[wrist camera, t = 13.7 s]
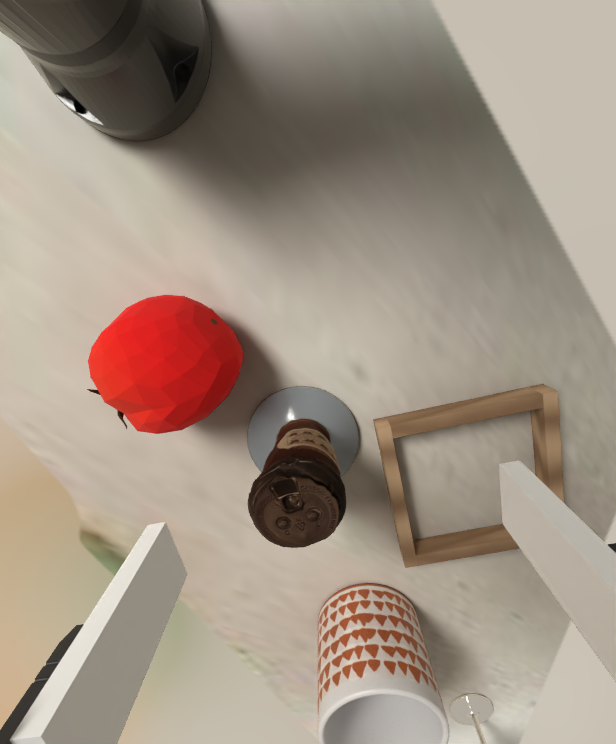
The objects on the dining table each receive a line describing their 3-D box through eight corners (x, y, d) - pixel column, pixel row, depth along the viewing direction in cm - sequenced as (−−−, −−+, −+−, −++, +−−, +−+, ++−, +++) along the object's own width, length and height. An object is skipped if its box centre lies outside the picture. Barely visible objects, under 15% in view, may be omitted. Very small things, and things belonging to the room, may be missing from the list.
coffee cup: (281, 395, 39) (264, 452, 26) (350, 419, 39) (365, 486, 27) (258, 460, 41) (232, 541, 29) (324, 482, 42) (326, 571, 29)
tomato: (235, 303, 40) (147, 361, 42) (153, 241, 28) (40, 326, 31) (277, 398, 36) (177, 457, 38) (201, 372, 24) (64, 458, 26)
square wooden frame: (373, 419, 40) (376, 428, 38) (542, 384, 38) (557, 391, 36) (400, 552, 45) (405, 567, 42) (552, 525, 43) (566, 540, 41)
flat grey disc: (234, 399, 40) (233, 401, 39) (345, 375, 39) (345, 376, 38) (264, 495, 43) (264, 498, 43) (367, 475, 42) (368, 478, 41)
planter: (348, 669, 51) (358, 795, 38) (299, 606, 48) (292, 720, 36) (433, 634, 49) (472, 755, 36) (386, 565, 46) (412, 672, 33)
